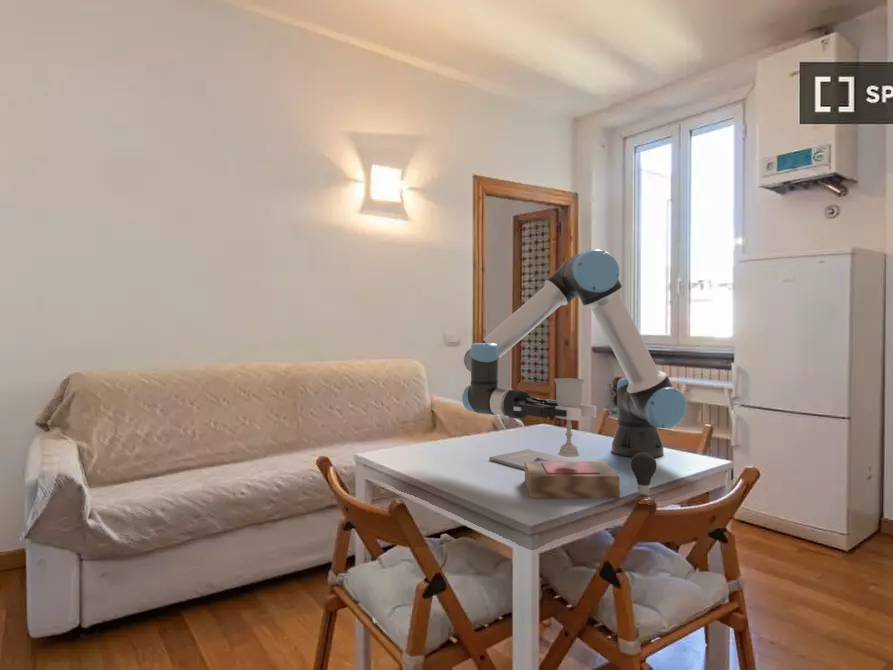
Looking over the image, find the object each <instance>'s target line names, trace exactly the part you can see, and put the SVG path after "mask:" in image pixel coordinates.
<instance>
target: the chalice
mask: <svg viewBox="0 0 893 670" xmlns="http://www.w3.org/2000/svg"><path fill="white" fill-rule="evenodd" d="M553 380H554V382H555V383H554V384H555V400H556V401H557V404H558V406H562V407H570V408H578V409H579V408H580V405H581V404H582V402H583V384H584V383H585V379H582V378H573V377H572V378H571V377H567V378H566V377H564V378H563V377H562V378H554V379H553ZM565 428H566V433H565V434H564V435H565V436H566V442H564V444H562V445H561V446H560V449H559V452H558V454H557V455H558V456H559V457H563V458H576V457H579V456H580V453H579V451H578V447H577V445H576V444H573V442H572V436H573V435H574V434H573V432H572V428H573V426H572V420H569V419H566V424H565Z"/></svg>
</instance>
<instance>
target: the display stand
mask: <svg viewBox="0 0 893 670" xmlns="http://www.w3.org/2000/svg"><path fill="white" fill-rule="evenodd" d="M620 480H621V476H620V475H619V474H618V473H617V472H616V471H615V470H614V469H613V468H612V467H611V466H610V465H609V464H608V463H607V462H606V461H600V460H599V461H598V460H597V461H596V460H594V461H591V460H590V461H589V460H588V461H587V460H586V461H584V460H583V461H580V460H575V461H525V470H524V483H525V485H526V488H527V491H528V492H529V495H530V498H531V499H620V497H621V496H620V495H621V494H620V493H621V487H620V485H621V484H620V483H621V481H620Z"/></svg>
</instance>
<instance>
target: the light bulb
mask: <svg viewBox="0 0 893 670" xmlns="http://www.w3.org/2000/svg"><path fill="white" fill-rule="evenodd" d="M657 466H658V465H657V461H656V459H655V457H653V456H651V455H650V454H648V453H645V452H640V453H637V454H636V455H634V456H633V457H632V458H631V460H630V468H631V471H632V473H633V475H634V476H635V479H636V483H637V492H638V493H639V494H640V495H641V496H642V497H646V496H647V495H648V494H650V484H651V481H652V479H653V476H654V475H655V473H656V471H657Z"/></svg>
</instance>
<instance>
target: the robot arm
mask: <svg viewBox="0 0 893 670" xmlns="http://www.w3.org/2000/svg"><path fill="white" fill-rule="evenodd" d="M619 276H620V268H619V264H618V261H617V260H616V259H615V257H614V256H613V255H612V254H610V253H609V252H608V251H606V250H602V249H590V250H589V249H588V250H587V249H586V250H585V251H582V252H581V253H579V254H576V255H573V256H571V257H569V258H568V259H567V260H566V261H564V262H563V263H562V264H561V265H560V267H559V268H557V269H556V271H555V272H553V274H552V275H551V276H550V277H548V278H547V279H546V280H544V281H545V282H544V286H543V287H541V289H540V290H538V291H537V292H536V293H535V294H534V295H533V296H531V297H530V298H529V299H528V300H527V301H526V302H525V303H524V304H522V305H521V306H520V307H518V309H517V310H516V311H514V312H513V313H512V314H511V315H510V316H508V317H507V318H506V319H505V320H504V321H502V322H501V323H500V324H499V325H498V326H497V327H495V328H494V329H493V331H491V332H490V333H488V335H486V336H485V337H484V338H483V339H482V340H481V341H480V342H475V343H472V344H471V345H470V349H468V350H467V351H466V352H465V353H464V356H463V364H464V366H465V368H466V369H467V371H469V372H470V384H469V385H468V386H466V387H465V388H464V389H463V394H462V396H461V401H462V405H463V407H464V408H465V409H466V410H467V411H469V412H473V413H477V414H483V415H491V416H496V417H497V416H500V417H501V419H505V418H510V419H515V420H523V419H525V418H526V417H528V416H532V417H538V418H543V419H547V418H549V421H555V419H556V418H557V419H562V420H567V419H569V420H571V421H577V422H580V421H582V417H587V418H591V419H592V418H593V419H594V418H597V405H591V404H582V403H581V405H580V408H579V409H578V408H570V407H562V406H558V404H557V401H556V399H550V398H539V397H531V396H530V394H529V393H528V392H527V391H526V390H523V389H514V388H507V387H499V386H498V385H499V379H498V377H499V360H500V358H502V357H503V356H504V355H505V354H506V353H507V352H509V351H510V350H511V349H512V348H513V347H514V346H515V345H516V344H518V343H519V342H520V341H521V340H523V339H524V338H525V337H526V336H527V335H529V334H530V333H531V332H532V331H533V330H534V329H535V328H537V327H538V326H539V325H540V324H541V323H543V322H544V321H545V320H546V319H547V318H548V317H549V316H550V315H552V314H553V313H554V312H555V311H556V310H557V309H559V308H560V307H561V306H567V305H568V304H569V303H570V302H572V301H573V300H575V299H576V298H579V299H580V302H581V304H583V306H584V307H586V308H589V309H590V310H591V311H592V313H593V315H594V317H595V318H596V321H597V323H598V324H599V326H600V329H601V330H602V332H603V334H604V336H605V338H606V340H607V342H608V344H609V347H610V348H611V350H612V351H613V354H614V356H615V358H616V360H617V362H618V363H619V365H620V368H621V370H622V371H623V373H624V375H625V378H623V377H622V378H620V379H618V380H617V388H616V394H617V395H616V396H617V397H616V401H617V402H616V403H617V405H616V406H617V418H616V419H617V426H616V430H615V433H614V436H613V439H612V443H611V451H612V453H614V454H617V455H619V456H624V457H630V458H631V457H632V458H633V456H634V455H636V454H637V453H640V452H645V453H648V454H650V455H651V456H653V458H656V457H661V456H663V455H664V444H663V442H662V439H661V435H660V433H659V428H660V429H670V428H674V427H675V426H677V425H679V423H681V422H682V421H683V419H684V418H685V415H686V412H687V409H688V403H687V399H686V396H685V395H684V393H683V392H682V391H680V390H679V389H678V388H676V387H674V386H673V384H672V383H671V380H670V378H669V376H668V375H667V373H666V372H665V371H661V370H659V369H658V368H657V366H656V363H655V361H654V360H653V357H652V356H651V354H650V352H649V349H648V347H647V345H646V344H645V342H644V339H643V338H642V336H641V334H640V332H639V329H638V328H637V326H636V324H635V322H634V320H633V318H632V316H631V314H630V312H629V310H628V308H627V306H626V304H625V303H624V300H623V299H622V296H621V293H622V290H623V285H622V283H621V281H620V279H619Z"/></svg>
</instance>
